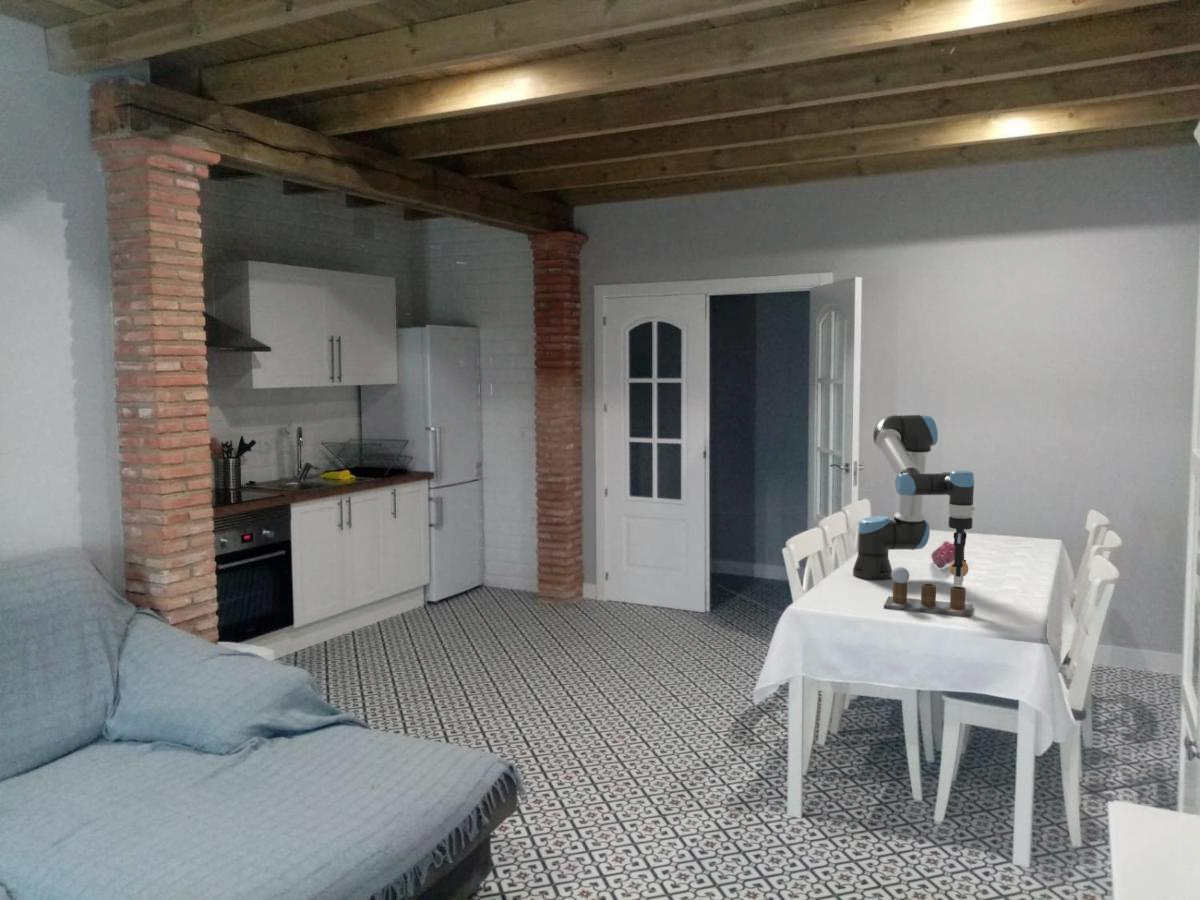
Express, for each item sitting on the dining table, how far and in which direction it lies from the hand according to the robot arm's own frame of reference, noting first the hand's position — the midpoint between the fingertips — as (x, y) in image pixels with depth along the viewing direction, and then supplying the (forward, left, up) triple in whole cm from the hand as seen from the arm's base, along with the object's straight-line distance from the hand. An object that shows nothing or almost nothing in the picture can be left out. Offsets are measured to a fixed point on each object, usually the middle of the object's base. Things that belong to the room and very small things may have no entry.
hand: (958, 583), depth 313 cm
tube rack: (-10, 0, -10) cm, 14 cm away
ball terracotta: (0, 0, +2) cm, 2 cm away
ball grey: (-19, 0, -2) cm, 19 cm away
